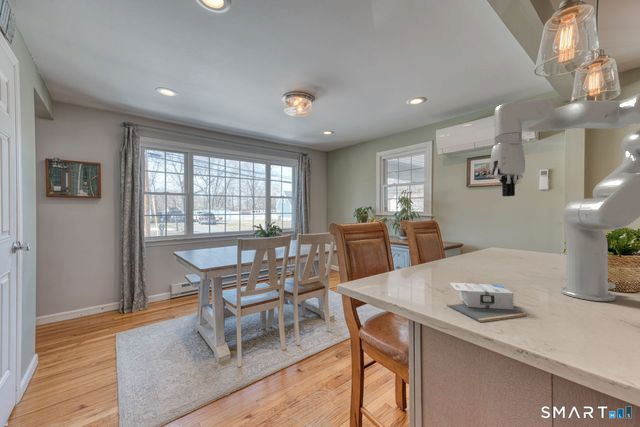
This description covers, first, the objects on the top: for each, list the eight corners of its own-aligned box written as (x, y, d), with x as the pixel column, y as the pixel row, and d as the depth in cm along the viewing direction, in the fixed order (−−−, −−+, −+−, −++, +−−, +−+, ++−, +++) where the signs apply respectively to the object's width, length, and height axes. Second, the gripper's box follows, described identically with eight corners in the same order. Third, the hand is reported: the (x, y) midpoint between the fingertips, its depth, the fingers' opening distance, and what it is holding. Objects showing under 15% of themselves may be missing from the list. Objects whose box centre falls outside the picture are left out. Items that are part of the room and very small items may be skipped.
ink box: (500, 300, 83) (449, 297, 86) (500, 284, 83) (449, 282, 86) (514, 310, 75) (456, 307, 78) (514, 293, 74) (456, 290, 78)
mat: (488, 301, 83) (488, 299, 83) (526, 316, 72) (526, 314, 72) (447, 306, 80) (447, 304, 80) (479, 322, 68) (479, 320, 68)
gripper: (515, 145, 95) (515, 196, 95) (480, 143, 91) (480, 196, 92) (536, 139, 88) (537, 195, 88) (499, 137, 84) (500, 195, 84)
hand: (508, 196), depth 90 cm, fingers closed
